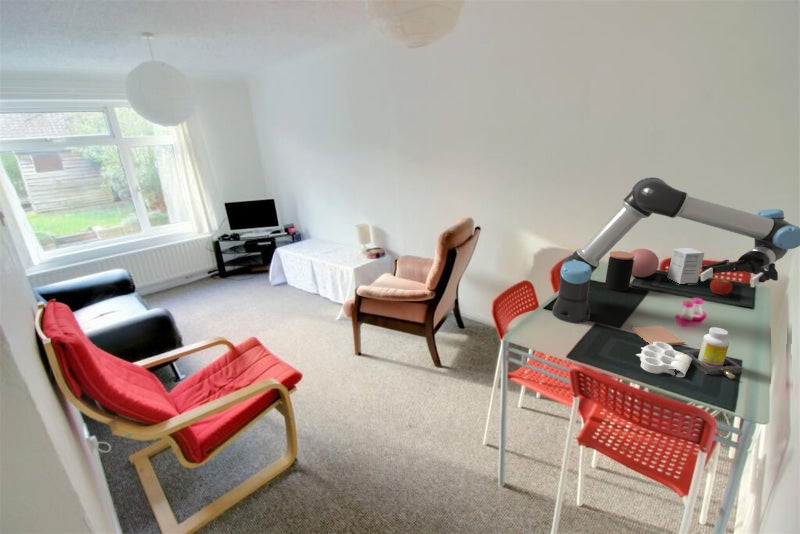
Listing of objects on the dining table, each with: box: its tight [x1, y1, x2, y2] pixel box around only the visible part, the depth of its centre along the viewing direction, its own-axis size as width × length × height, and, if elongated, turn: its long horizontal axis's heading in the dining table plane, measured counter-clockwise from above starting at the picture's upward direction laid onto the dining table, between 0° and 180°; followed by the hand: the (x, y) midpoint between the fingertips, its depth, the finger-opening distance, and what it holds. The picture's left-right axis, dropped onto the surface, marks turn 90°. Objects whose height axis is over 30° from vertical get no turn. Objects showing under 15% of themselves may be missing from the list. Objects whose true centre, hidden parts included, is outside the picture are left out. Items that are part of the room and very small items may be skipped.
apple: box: [709, 278, 733, 295], centre depth 170 cm, size 8×8×8 cm
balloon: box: [629, 248, 660, 278], centre depth 196 cm, size 15×20×15 cm
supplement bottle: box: [697, 326, 730, 367], centre depth 121 cm, size 7×7×13 cm
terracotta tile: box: [631, 325, 685, 346], centre depth 140 cm, size 12×12×1 cm
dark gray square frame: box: [680, 348, 744, 380], centre depth 122 cm, size 11×14×2 cm
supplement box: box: [667, 247, 705, 285], centre depth 185 cm, size 10×9×17 cm
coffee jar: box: [604, 250, 635, 292], centre depth 181 cm, size 11×11×18 cm
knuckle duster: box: [635, 342, 692, 378], centre depth 125 cm, size 3×18×15 cm
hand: (725, 280), depth 122 cm, fingers open, 13 cm apart
